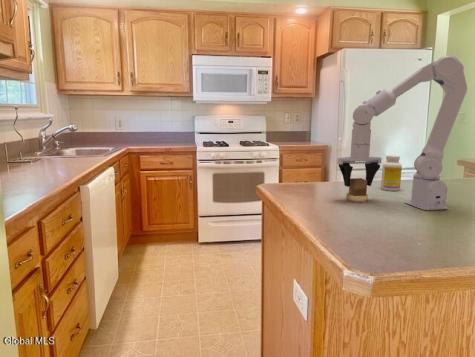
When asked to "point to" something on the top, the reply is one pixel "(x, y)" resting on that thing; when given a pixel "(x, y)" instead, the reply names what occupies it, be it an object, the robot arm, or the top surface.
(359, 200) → the maple plinth
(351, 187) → the walnut block
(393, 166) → the supplement bottle
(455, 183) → the top surface
